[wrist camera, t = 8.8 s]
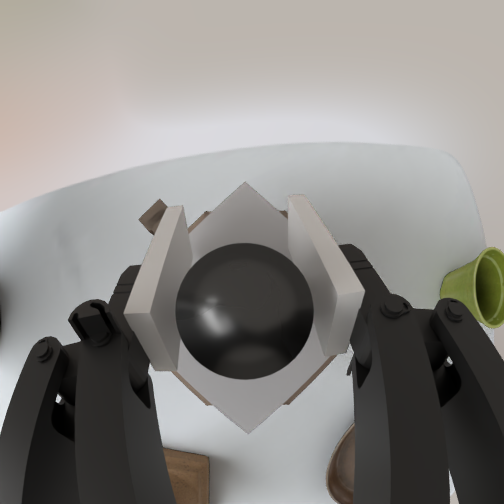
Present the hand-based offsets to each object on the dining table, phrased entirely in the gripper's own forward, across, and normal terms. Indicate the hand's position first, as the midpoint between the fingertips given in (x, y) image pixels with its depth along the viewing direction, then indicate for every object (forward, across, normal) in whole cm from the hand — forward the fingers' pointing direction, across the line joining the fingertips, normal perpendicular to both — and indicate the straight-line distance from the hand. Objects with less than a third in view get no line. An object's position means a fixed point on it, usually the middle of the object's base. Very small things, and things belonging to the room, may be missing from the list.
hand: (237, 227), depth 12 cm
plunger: (+9, 0, -14) cm, 17 cm away
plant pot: (+8, +28, -17) cm, 34 cm away
